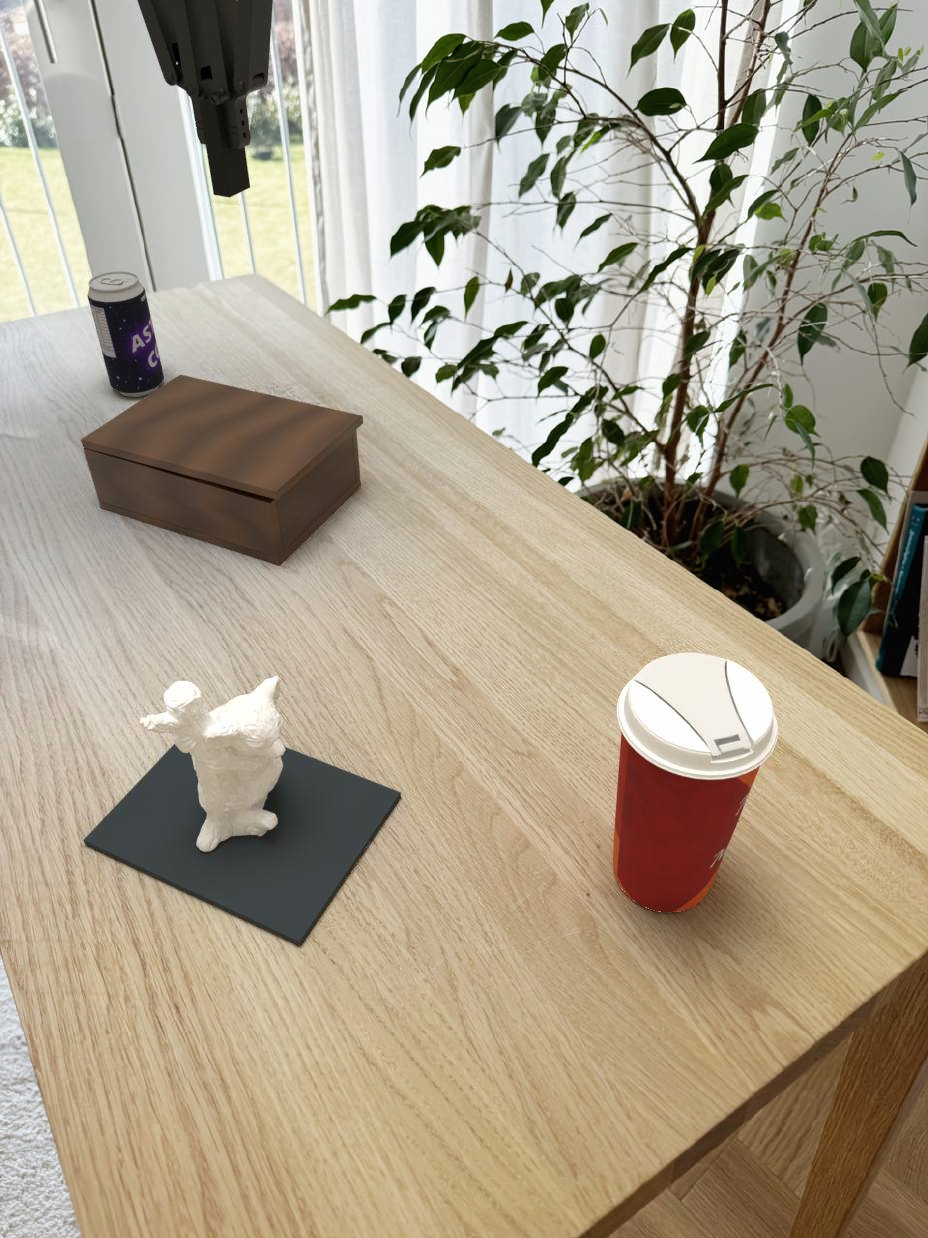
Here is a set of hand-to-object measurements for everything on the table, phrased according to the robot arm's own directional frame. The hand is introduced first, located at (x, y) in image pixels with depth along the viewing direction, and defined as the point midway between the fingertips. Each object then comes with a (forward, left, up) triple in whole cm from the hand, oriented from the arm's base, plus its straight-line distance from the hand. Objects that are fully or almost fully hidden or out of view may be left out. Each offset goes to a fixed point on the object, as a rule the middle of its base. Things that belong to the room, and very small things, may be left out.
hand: (232, 190), depth 75 cm
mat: (+21, -34, -26) cm, 48 cm away
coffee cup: (+46, -26, -27) cm, 59 cm away
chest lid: (-2, -4, -20) cm, 20 cm away
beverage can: (-24, +9, -27) cm, 37 cm away
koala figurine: (+21, -34, -26) cm, 48 cm away
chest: (-2, -4, -26) cm, 27 cm away
